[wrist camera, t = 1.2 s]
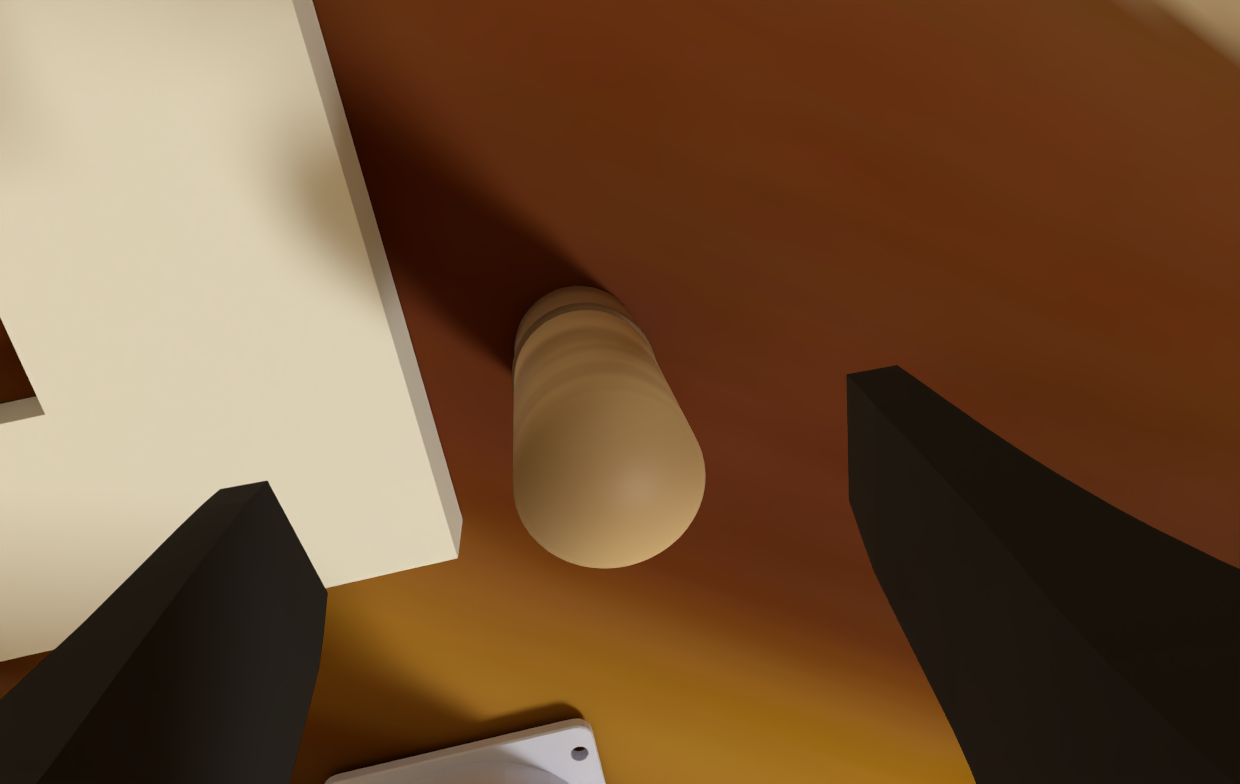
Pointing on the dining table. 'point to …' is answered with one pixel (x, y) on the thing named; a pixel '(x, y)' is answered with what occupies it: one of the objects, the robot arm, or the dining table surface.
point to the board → (194, 305)
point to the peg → (598, 435)
